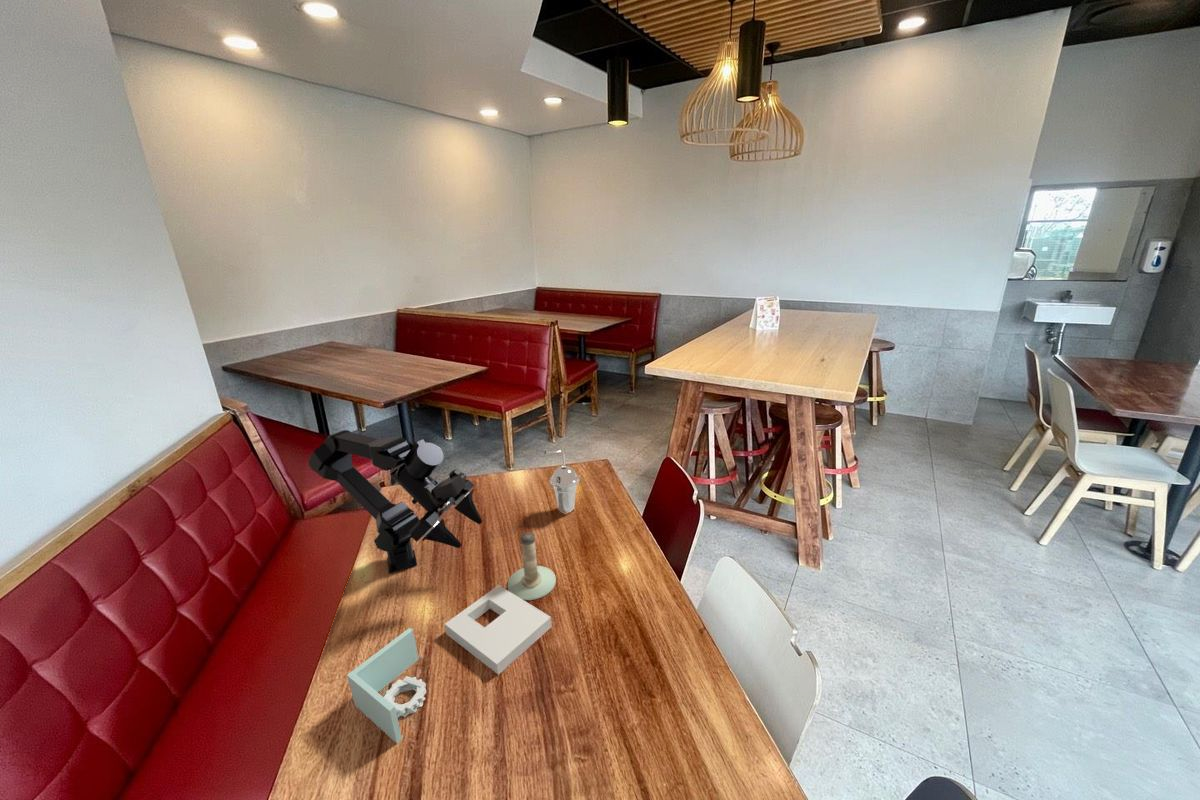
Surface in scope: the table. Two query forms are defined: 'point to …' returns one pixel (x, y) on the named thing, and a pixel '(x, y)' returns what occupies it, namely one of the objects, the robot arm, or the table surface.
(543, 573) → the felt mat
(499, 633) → the socket plate
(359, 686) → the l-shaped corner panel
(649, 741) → the table surface
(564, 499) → the cup with straw
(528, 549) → the key peg
